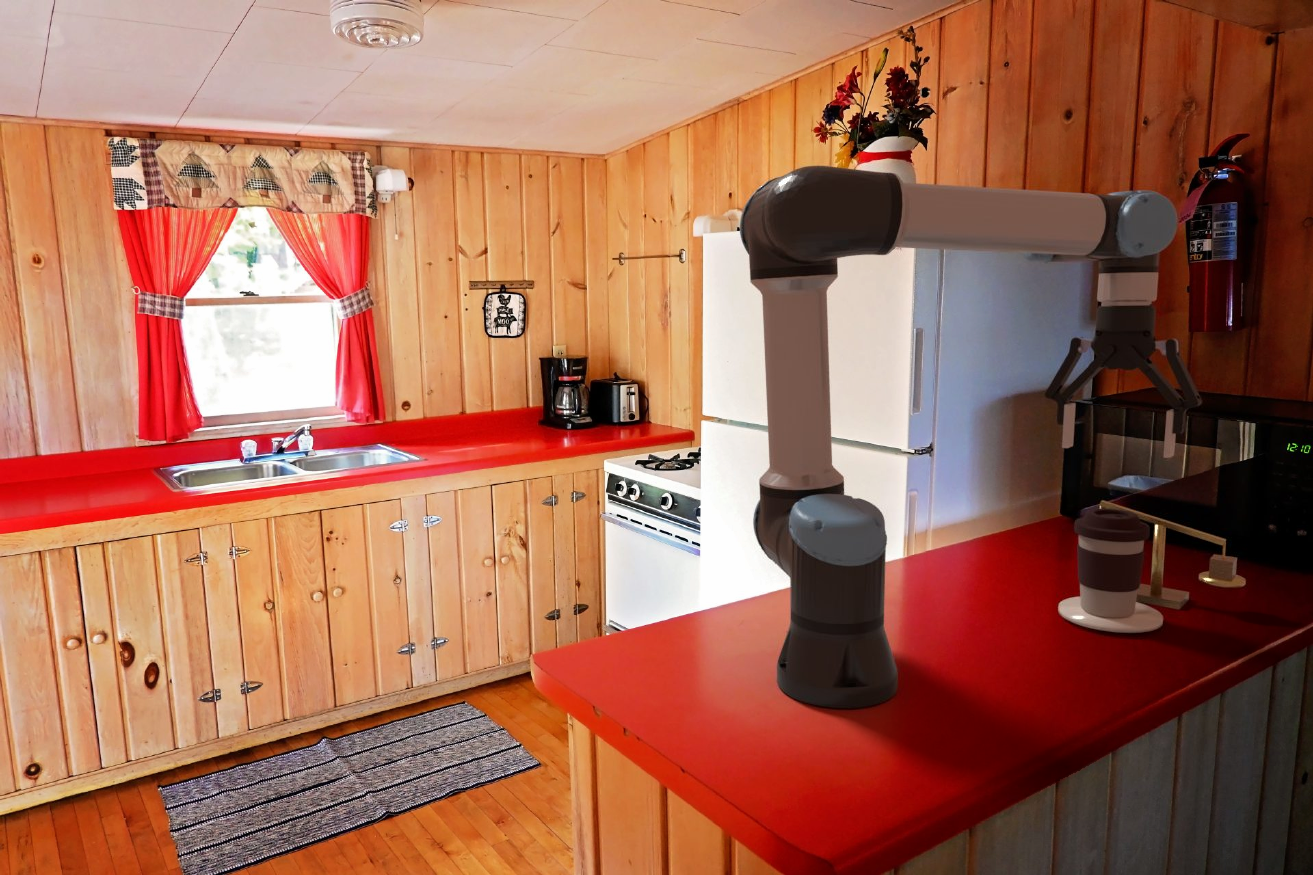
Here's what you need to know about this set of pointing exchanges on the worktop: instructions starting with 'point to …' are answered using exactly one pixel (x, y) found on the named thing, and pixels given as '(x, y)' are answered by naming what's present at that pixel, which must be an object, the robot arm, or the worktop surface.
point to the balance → (1218, 575)
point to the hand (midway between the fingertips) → (1116, 451)
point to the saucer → (1136, 623)
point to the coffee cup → (1110, 561)
